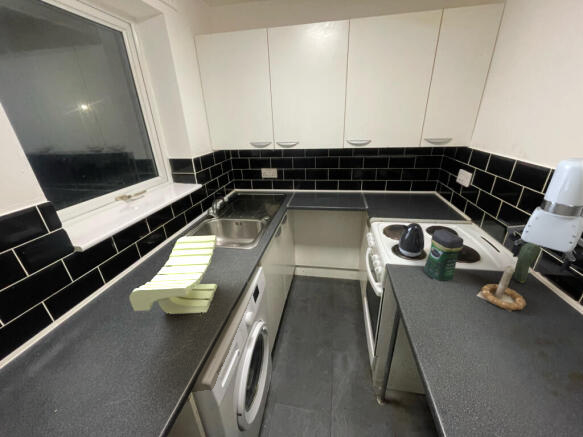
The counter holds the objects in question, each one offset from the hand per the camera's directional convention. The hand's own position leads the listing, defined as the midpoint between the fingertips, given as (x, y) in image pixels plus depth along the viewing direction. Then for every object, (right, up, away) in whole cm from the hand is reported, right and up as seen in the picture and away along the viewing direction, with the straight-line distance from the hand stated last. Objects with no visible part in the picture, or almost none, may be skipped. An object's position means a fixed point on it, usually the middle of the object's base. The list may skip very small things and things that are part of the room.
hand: (537, 262), depth 66 cm
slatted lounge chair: (-108, -17, +17) cm, 111 cm away
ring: (-2, -13, +9) cm, 16 cm away
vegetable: (+12, -11, +19) cm, 25 cm away
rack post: (-2, -15, +11) cm, 18 cm away
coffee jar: (-14, -10, +23) cm, 29 cm away
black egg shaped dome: (-18, -3, +38) cm, 42 cm away
